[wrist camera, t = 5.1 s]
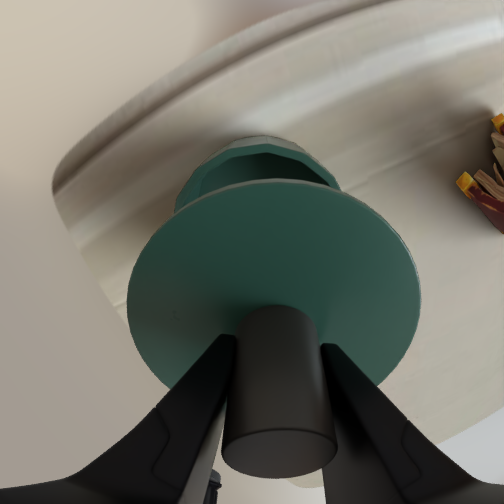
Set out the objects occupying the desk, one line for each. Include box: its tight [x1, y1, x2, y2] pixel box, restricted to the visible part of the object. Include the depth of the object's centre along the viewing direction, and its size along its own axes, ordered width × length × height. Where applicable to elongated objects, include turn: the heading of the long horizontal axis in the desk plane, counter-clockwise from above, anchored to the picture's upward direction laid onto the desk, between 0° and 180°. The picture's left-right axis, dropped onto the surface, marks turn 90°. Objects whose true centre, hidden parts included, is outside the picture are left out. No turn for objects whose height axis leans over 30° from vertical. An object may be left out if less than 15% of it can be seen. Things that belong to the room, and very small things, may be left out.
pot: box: [174, 135, 341, 214], centre depth 17 cm, size 8×8×5 cm
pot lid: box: [127, 178, 421, 479], centre depth 8 cm, size 9×9×5 cm
